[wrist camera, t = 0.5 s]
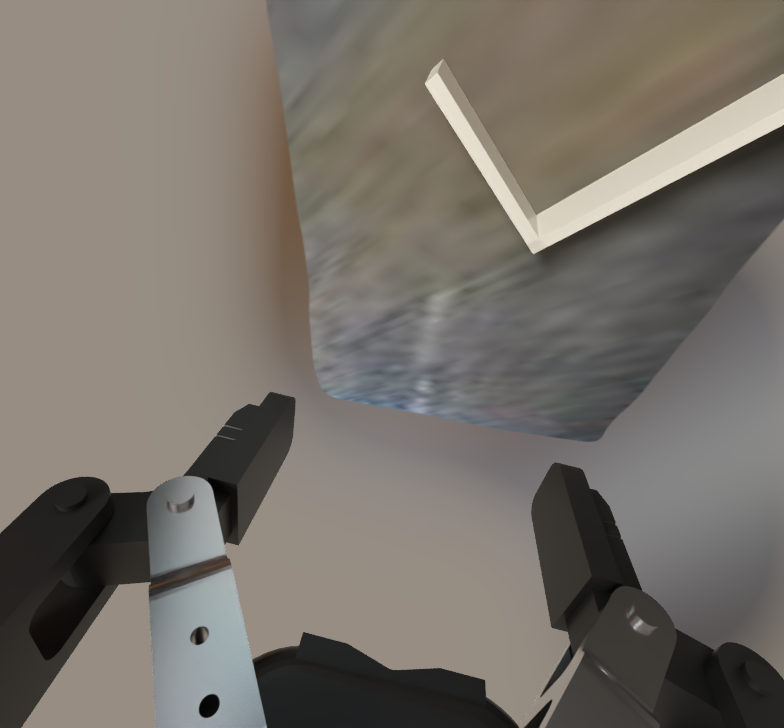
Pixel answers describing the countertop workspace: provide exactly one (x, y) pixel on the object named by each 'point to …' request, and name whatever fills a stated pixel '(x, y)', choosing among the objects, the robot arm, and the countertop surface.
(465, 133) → the box
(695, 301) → the countertop surface
